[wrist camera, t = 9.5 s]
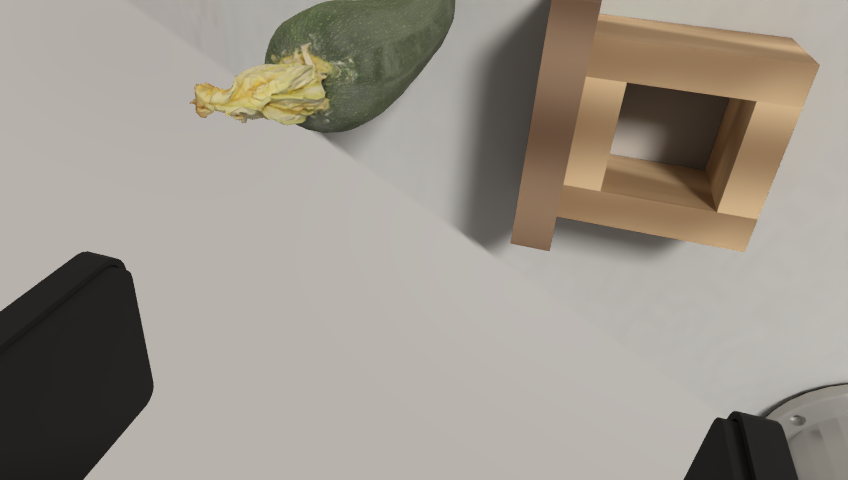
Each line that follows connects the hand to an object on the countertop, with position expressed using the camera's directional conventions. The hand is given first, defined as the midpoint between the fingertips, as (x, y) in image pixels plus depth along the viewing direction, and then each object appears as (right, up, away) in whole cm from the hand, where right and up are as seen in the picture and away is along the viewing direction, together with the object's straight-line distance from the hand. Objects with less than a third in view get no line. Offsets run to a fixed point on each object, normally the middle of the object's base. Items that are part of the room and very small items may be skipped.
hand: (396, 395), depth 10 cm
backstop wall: (+8, +10, +24) cm, 27 cm away
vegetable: (+1, +15, +23) cm, 28 cm away
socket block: (+13, +9, +23) cm, 28 cm away
